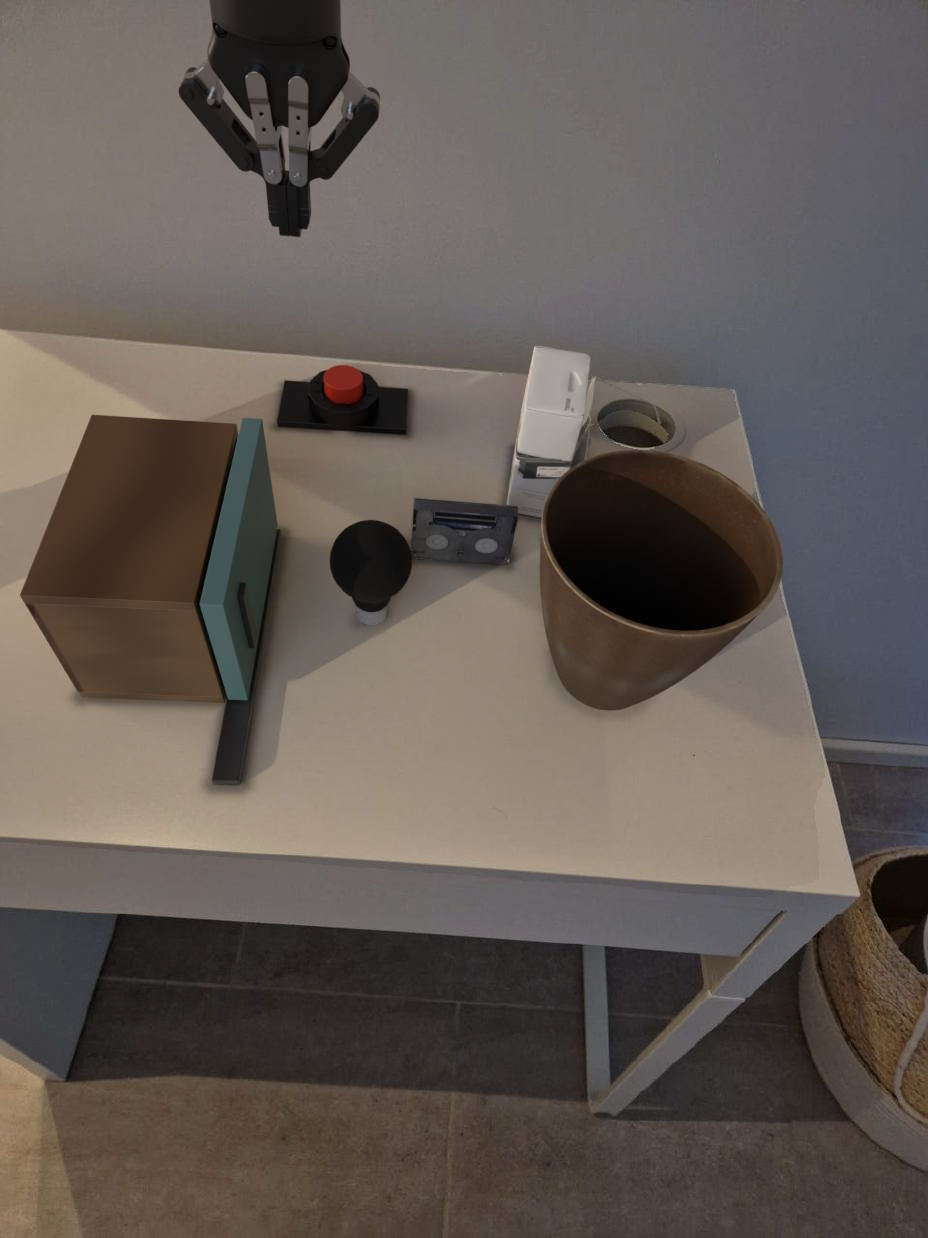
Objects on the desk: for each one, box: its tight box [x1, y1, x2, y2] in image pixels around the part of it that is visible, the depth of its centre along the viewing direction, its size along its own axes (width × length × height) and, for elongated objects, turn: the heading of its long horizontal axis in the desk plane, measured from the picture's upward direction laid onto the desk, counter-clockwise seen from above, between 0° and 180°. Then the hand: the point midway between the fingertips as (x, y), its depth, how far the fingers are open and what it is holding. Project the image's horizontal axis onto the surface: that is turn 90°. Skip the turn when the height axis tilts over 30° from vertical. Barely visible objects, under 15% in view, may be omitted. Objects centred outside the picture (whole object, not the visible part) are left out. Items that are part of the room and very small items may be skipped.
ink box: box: [506, 345, 592, 519], centre depth 68 cm, size 8×5×12 cm, turn 172°
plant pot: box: [539, 449, 784, 711], centre depth 55 cm, size 15×15×16 cm
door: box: [200, 417, 279, 700], centre depth 56 cm, size 2×17×11 cm, turn 1°
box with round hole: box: [571, 375, 662, 468], centre depth 74 cm, size 14×8×5 cm, turn 170°
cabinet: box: [19, 414, 282, 787], centre depth 55 cm, size 12×23×12 cm, turn 1°
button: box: [324, 364, 363, 404], centre depth 74 cm, size 4×4×2 cm
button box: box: [276, 369, 409, 436], centre depth 75 cm, size 12×6×2 cm, turn 91°
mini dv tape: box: [410, 497, 519, 566], centre depth 64 cm, size 8×2×6 cm, turn 89°
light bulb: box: [329, 519, 413, 626], centre depth 58 cm, size 6×6×10 cm
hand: (291, 230), depth 57 cm, fingers closed
